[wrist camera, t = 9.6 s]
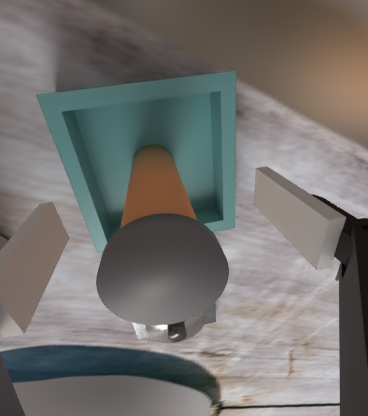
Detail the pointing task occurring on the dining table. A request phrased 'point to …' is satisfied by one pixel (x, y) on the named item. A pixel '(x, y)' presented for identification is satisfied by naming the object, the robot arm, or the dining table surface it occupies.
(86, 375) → the dining table surface
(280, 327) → the dining table surface
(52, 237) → the robot arm
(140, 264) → the pin
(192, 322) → the silver rectangular stand
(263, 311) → the dining table surface
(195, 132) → the tray
